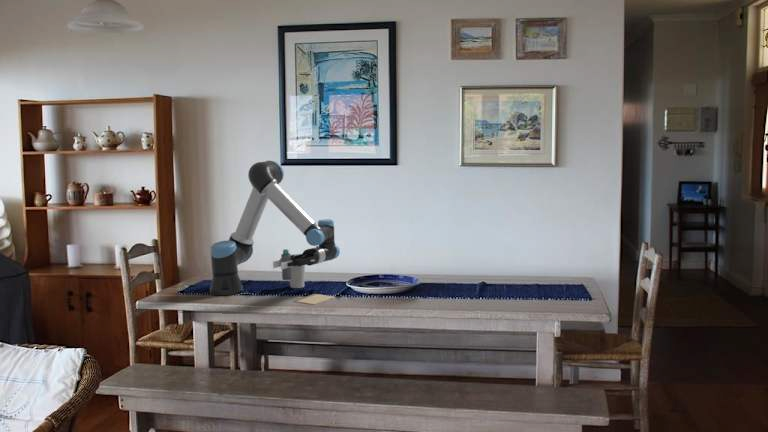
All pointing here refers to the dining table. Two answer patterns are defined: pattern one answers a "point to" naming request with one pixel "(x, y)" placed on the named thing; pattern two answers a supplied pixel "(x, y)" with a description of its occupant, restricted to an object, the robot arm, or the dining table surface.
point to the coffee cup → (297, 276)
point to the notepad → (314, 299)
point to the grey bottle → (287, 271)
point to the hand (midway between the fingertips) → (277, 265)
